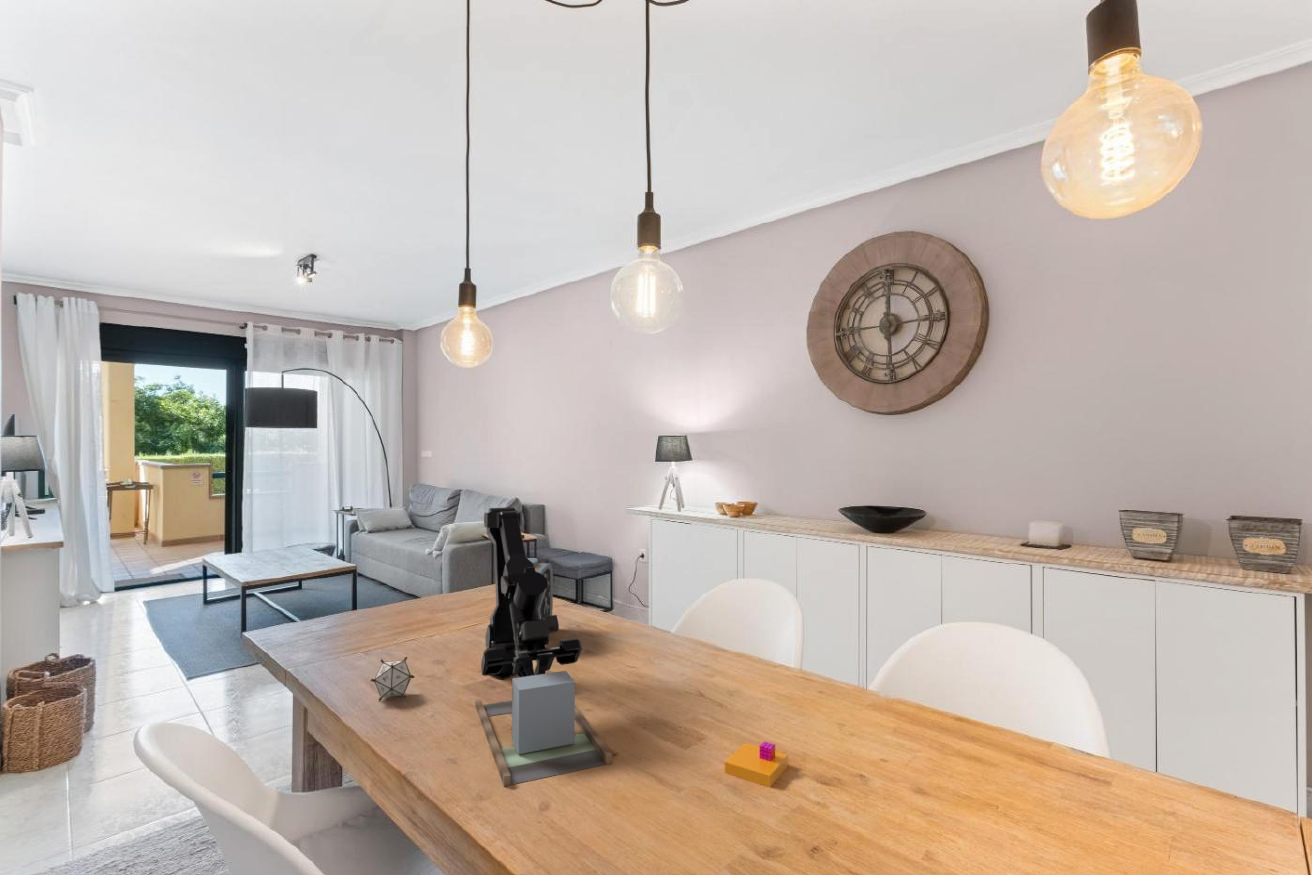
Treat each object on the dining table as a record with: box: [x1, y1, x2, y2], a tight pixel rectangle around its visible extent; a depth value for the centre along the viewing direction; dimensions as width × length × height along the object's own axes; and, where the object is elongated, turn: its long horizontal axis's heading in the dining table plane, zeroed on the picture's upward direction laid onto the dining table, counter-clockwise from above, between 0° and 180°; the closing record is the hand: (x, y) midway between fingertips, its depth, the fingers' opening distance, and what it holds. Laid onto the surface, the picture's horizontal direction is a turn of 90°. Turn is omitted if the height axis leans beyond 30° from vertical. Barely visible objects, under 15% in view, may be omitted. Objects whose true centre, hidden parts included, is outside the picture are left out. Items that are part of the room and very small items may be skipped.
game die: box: [369, 656, 416, 702], centre depth 131 cm, size 9×8×10 cm
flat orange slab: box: [724, 741, 789, 788], centre depth 102 cm, size 8×8×4 cm
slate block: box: [511, 670, 576, 754], centre depth 111 cm, size 6×10×11 cm, turn 114°
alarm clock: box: [527, 557, 554, 620], centre depth 174 cm, size 21×10×22 cm, turn 179°
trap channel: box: [474, 697, 613, 787], centre depth 115 cm, size 33×18×2 cm, turn 24°
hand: (539, 698), depth 114 cm, fingers closed, pressing on slate block
